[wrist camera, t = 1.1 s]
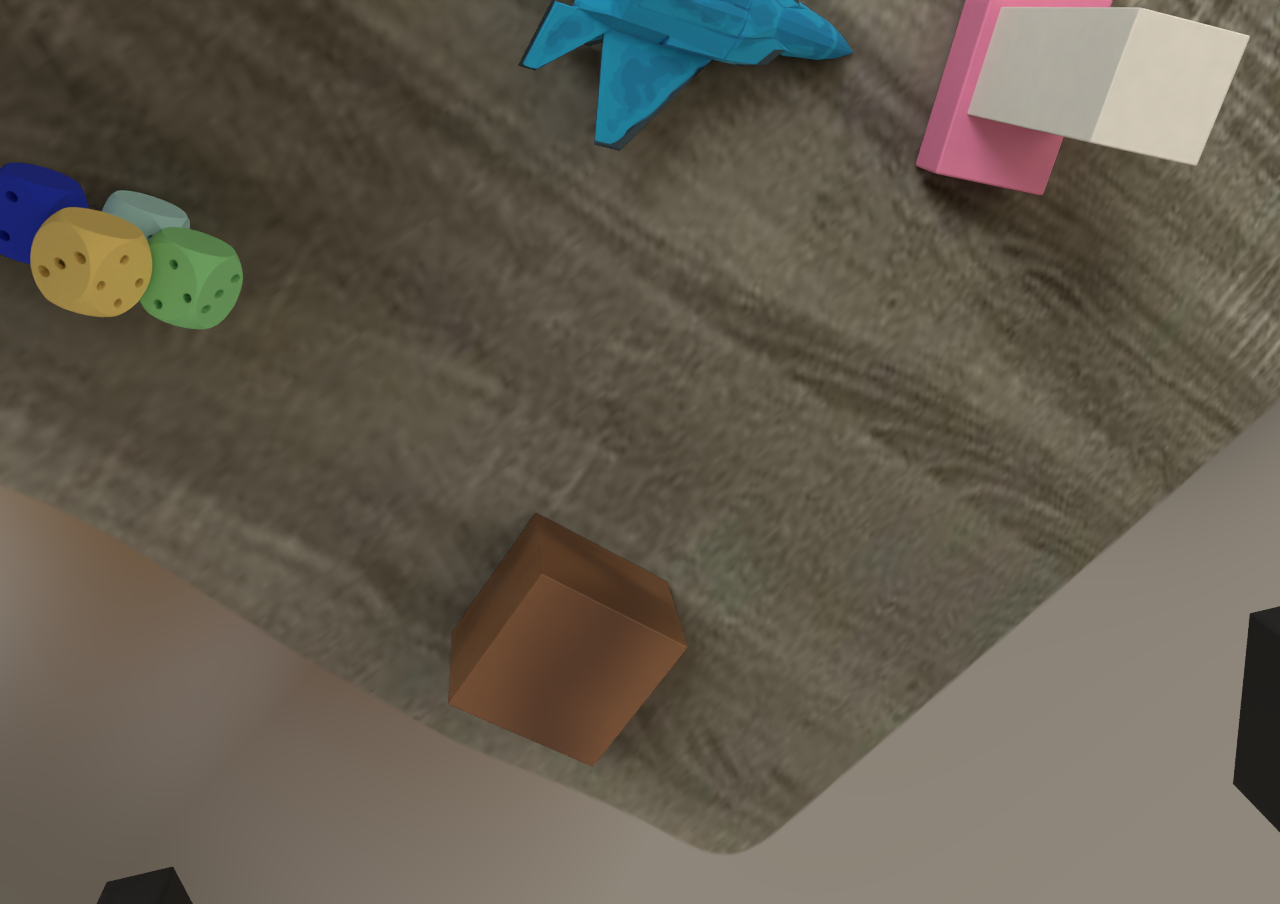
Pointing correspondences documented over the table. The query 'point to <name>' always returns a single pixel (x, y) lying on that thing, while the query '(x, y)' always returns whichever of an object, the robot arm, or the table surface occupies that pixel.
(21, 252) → the dice
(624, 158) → the table surface
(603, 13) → the toy airplane
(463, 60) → the table surface
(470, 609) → the wood block
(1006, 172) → the block on pink pedestal
